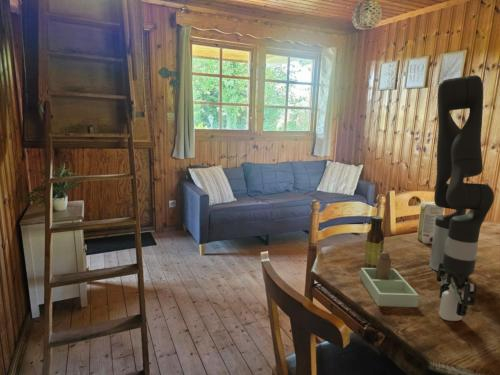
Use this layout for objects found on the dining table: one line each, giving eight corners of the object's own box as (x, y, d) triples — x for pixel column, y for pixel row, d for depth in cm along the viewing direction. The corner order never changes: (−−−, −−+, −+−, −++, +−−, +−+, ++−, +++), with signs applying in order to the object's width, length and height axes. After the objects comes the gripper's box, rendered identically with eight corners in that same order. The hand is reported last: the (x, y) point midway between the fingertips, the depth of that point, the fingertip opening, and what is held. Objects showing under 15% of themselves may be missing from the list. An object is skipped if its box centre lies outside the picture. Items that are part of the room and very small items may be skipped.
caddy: (393, 278, 117) (397, 247, 114) (417, 307, 99) (422, 270, 96) (359, 278, 117) (362, 246, 114) (377, 305, 99) (381, 269, 97)
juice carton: (441, 244, 151) (446, 205, 147) (422, 244, 151) (427, 204, 147) (432, 238, 158) (437, 201, 154) (414, 238, 158) (419, 200, 154)
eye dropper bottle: (438, 311, 97) (444, 274, 95) (460, 316, 94) (467, 279, 92) (438, 318, 93) (444, 280, 91) (461, 324, 91) (468, 285, 88)
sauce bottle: (382, 271, 123) (388, 220, 119) (365, 269, 124) (370, 219, 120) (379, 263, 129) (384, 215, 125) (363, 262, 130) (367, 214, 126)
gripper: (491, 265, 83) (481, 321, 86) (458, 244, 97) (450, 293, 100) (462, 264, 83) (452, 320, 86) (432, 243, 97) (425, 293, 100)
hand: (451, 306), depth 93 cm, fingers open, 8 cm apart
